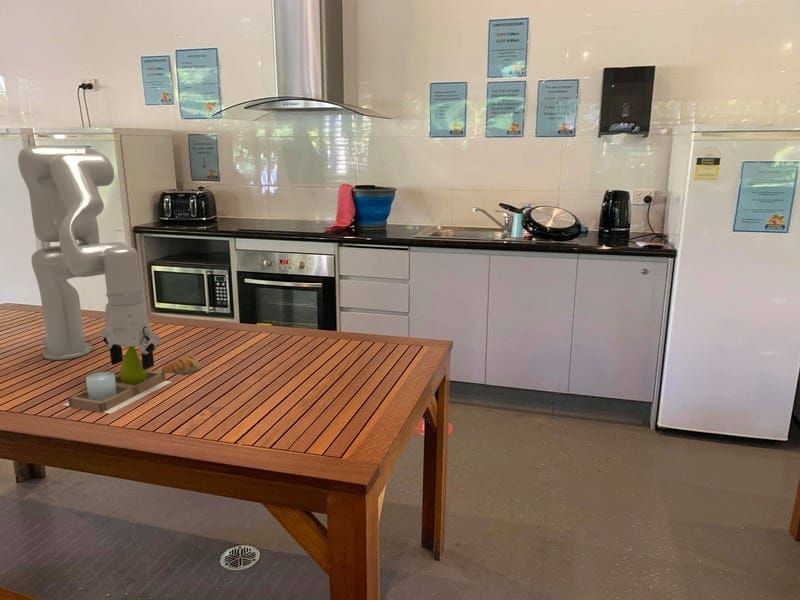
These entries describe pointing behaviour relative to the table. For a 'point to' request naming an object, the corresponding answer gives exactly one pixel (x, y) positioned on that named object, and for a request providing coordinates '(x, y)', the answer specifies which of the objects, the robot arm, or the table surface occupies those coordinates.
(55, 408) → the table surface
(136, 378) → the fruit
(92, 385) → the pale blue rounded block
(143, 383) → the tray
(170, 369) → the pastry
